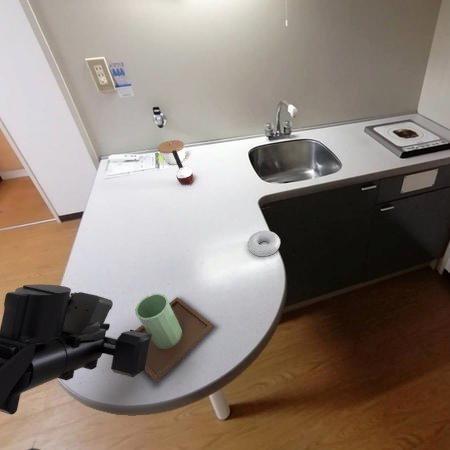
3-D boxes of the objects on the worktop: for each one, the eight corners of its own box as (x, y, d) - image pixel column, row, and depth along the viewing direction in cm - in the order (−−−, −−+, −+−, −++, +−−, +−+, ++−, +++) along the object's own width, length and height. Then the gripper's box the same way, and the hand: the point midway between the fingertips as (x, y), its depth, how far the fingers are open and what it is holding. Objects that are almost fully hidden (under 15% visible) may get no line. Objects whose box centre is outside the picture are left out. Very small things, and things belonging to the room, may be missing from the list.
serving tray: (156, 383, 64) (154, 379, 63) (122, 346, 70) (119, 343, 69) (214, 328, 73) (212, 324, 72) (178, 300, 80) (177, 296, 78)
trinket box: (183, 153, 143) (178, 134, 137) (191, 162, 136) (186, 142, 130) (160, 160, 138) (153, 140, 132) (167, 169, 132) (160, 149, 125)
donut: (256, 233, 100) (242, 254, 92) (255, 225, 97) (241, 246, 90) (285, 240, 97) (273, 261, 90) (284, 232, 95) (272, 253, 88)
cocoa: (194, 186, 121) (186, 159, 113) (177, 189, 120) (169, 161, 112) (194, 174, 128) (187, 148, 120) (179, 176, 127) (171, 150, 119)
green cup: (155, 354, 68) (136, 324, 60) (152, 331, 72) (133, 300, 65) (185, 341, 70) (170, 311, 63) (179, 320, 75) (165, 289, 67)
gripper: (118, 313, 42) (181, 297, 57) (8, 289, 45) (96, 280, 60) (102, 397, 41) (170, 358, 56) (-8, 366, 44) (84, 337, 60)
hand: (129, 331), depth 58 cm, fingers open, 9 cm apart
